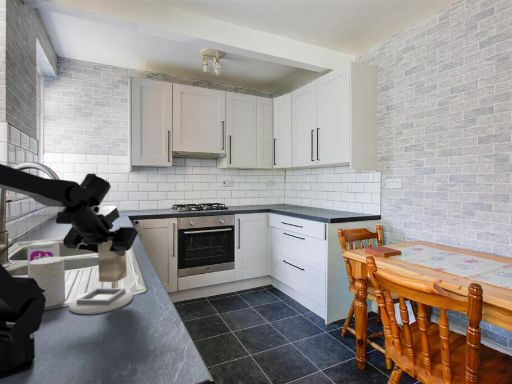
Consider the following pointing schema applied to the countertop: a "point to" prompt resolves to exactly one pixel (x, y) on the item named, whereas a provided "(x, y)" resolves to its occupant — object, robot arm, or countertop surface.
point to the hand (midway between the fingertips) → (115, 254)
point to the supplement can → (42, 251)
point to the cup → (49, 278)
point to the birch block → (110, 264)
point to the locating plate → (101, 300)
